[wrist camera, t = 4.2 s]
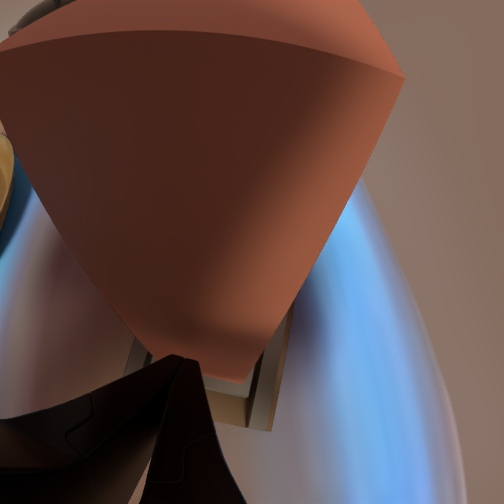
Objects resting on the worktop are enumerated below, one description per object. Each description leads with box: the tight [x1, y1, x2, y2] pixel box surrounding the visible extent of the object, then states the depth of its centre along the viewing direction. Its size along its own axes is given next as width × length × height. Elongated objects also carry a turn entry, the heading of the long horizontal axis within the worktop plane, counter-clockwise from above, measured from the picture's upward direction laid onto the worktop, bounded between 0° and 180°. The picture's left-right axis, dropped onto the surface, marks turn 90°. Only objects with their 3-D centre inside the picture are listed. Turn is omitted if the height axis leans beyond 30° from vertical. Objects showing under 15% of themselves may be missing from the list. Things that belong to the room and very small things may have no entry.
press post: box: [0, 0, 405, 398], centre depth 9 cm, size 5×5×15 cm
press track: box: [123, 299, 295, 432], centre depth 17 cm, size 16×8×4 cm, turn 169°
